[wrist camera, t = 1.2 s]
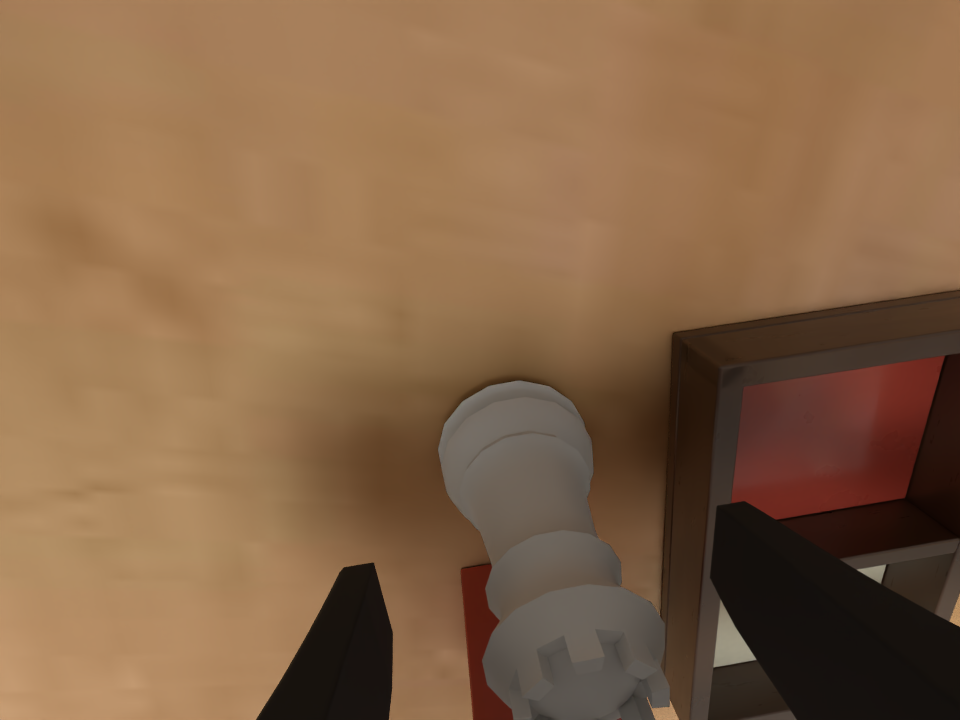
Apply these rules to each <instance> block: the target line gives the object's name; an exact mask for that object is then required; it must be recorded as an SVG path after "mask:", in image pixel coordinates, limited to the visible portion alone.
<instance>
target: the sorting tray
mask: <svg viewBox="0 0 960 720" xmlns="http://www.w3.org/2000/svg"><path fill="white" fill-rule="evenodd" d="M742 501H746V502H747V503H749V504H751V505H752V506H754V507H756V508H758V509H759V510H761V511H762V512H764V513H766V514H767V515H769V516H771V517H772V518H774V519H775V520H777V521H779V522H780V523H782V524H783V525H785V526H787V527H788V528H790V529H791V530H793V531H795V532H796V533H798V534H799V535H801V536H803V537H804V538H806V539H807V540H809V541H811V542H812V543H814V544H815V545H817V546H819V547H820V548H822V549H823V550H825V551H827V552H828V553H830V554H832V555H833V556H835V557H836V558H838V559H840V560H841V561H843V562H845V563H846V564H848V565H850V566H851V567H853V568H855V569H856V570H858V571H860V572H861V573H863V574H865V575H866V576H868V577H870V578H872V579H873V580H875V581H877V582H879V583H880V584H882V585H884V586H885V587H887V588H889V589H891V590H892V591H894V592H896V593H898V594H900V595H901V596H903V597H905V598H907V599H909V600H910V601H912V602H914V603H916V604H918V605H920V606H921V607H923V608H925V609H927V610H929V611H930V612H932V613H934V614H936V615H938V616H940V617H941V618H943V619H945V620H947V621H950V618H951V616H952V613H953V610H954V608H955V605H956V602H957V599H958V597H959V594H960V291H953V292H947V293H940V294H933V295H927V296H920V297H913V298H906V299H900V300H893V301H886V302H879V303H873V304H866V305H859V306H853V307H846V308H839V309H832V310H826V311H819V312H812V313H805V314H799V315H792V316H785V317H778V318H772V319H765V320H758V321H752V322H745V323H738V324H731V325H725V326H718V327H711V328H704V329H698V330H691V331H684V332H678V333H674V334H673V349H672V373H671V397H670V421H669V445H668V469H667V493H666V516H665V540H664V564H663V588H662V612H661V619H662V620H663V622H664V623H665V650H664V654H663V658H662V662H661V665H660V667H661V669H662V671H663V673H664V675H665V678H666V680H667V682H668V684H669V686H670V701H671V703H672V705H673V707H674V709H675V712H676V714H677V716H678V718H679V720H797V719H796V718H795V716H794V715H793V713H792V712H791V710H790V709H789V707H788V706H787V704H786V703H785V701H784V700H783V698H782V697H781V695H780V694H779V693H778V691H777V690H776V688H775V687H774V685H773V684H772V682H771V681H770V679H769V678H768V676H767V675H766V673H765V672H764V670H763V669H762V667H761V666H760V664H759V663H758V661H757V660H756V658H755V657H754V655H753V653H752V652H751V650H750V649H749V647H748V646H747V644H746V643H745V641H744V640H743V638H742V637H741V635H740V634H739V632H738V631H737V629H736V627H735V626H734V624H733V622H732V620H731V618H730V616H729V614H728V613H727V611H726V609H725V607H724V605H723V603H722V601H721V599H720V597H719V595H718V593H717V591H716V589H715V587H714V585H713V583H712V581H711V579H710V570H711V560H712V549H713V539H714V528H715V518H716V508H717V506H718V505H724V504H730V503H736V502H742Z"/></svg>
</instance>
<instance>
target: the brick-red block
mask: <svg viewBox="0 0 960 720" xmlns="http://www.w3.org/2000/svg"><path fill="white" fill-rule="evenodd" d="M491 570H492V564H488V565H482V566H476V567H470V568H464V569H461V582H462V593H463V605H464V617H465V629H466V641H467V653H468V665H469V677H470V689H471V701H472V713H473V720H513V713H512V709H511V708H510V707H509V706H507V705H506V704H505V703H504V702H503V701H502V700H501V699H500V698H499V697H498V695H497V694H496V693H495V692H494V691H493V690H492V689H491V688H490V687H489V686H488V685H487V682H486V677H485V672H484V668H483V663H482V659H483V656H484V653H485V651H486V648H487V645H488V642H489V639H490V637H491V634H492V632H493V631H494V629H495V628H496V626H497V625H498V623H499V622H500V620H499V619H498V618H497V617H496V616H495V614H494V613H493V612H492V611H491V610H490V609H489V606H488V600H487V595H486V590H485V588H486V585H487V582H488V579H489V576H490V573H491ZM647 701H648V700H647ZM649 706H650V705H649ZM651 711H652V710H651ZM617 720H622V719H621V718H619V719H617Z"/></svg>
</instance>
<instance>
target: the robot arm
mask: <svg viewBox="0 0 960 720" xmlns="http://www.w3.org/2000/svg"><path fill="white" fill-rule="evenodd" d="M710 579H711V581H712V583H713V585H714V587H715V589H716V591H717V593H718V595H719V597H720V599H721V601H722V603H723V605H724V607H725V609H726V611H727V613H728V614H729V616H730V618H731V620H732V622H733V624H734V626H735V627H736V629H737V631H738V632H739V634H740V635H741V637H742V638H743V640H744V641H745V643H746V644H747V646H748V647H749V649H750V650H751V652H752V653H753V655H754V657H755V658H756V660H757V661H758V663H759V664H760V666H761V667H762V669H763V670H764V672H765V673H766V675H767V676H768V678H769V679H770V681H771V682H772V684H773V685H774V687H775V688H776V690H777V691H778V693H779V694H780V695H781V697H782V698H783V700H784V701H785V703H786V704H787V706H788V707H789V709H790V710H791V712H792V713H793V715H794V716H795V718H796V719H797V720H960V627H959V626H957V625H955V624H953V623H951V622H949V621H947V620H945V619H943V618H941V617H940V616H938V615H936V614H934V613H932V612H930V611H929V610H927V609H925V608H923V607H921V606H920V605H918V604H916V603H914V602H912V601H910V600H909V599H907V598H905V597H903V596H901V595H900V594H898V593H896V592H894V591H892V590H891V589H889V588H887V587H885V586H884V585H882V584H880V583H879V582H877V581H875V580H873V579H872V578H870V577H868V576H866V575H865V574H863V573H861V572H860V571H858V570H856V569H855V568H853V567H851V566H850V565H848V564H846V563H845V562H843V561H841V560H840V559H838V558H836V557H835V556H833V555H832V554H830V553H828V552H827V551H825V550H823V549H822V548H820V547H819V546H817V545H815V544H814V543H812V542H811V541H809V540H807V539H806V538H804V537H803V536H801V535H799V534H798V533H796V532H795V531H793V530H791V529H790V528H788V527H787V526H785V525H783V524H782V523H780V522H779V521H777V520H775V519H774V518H772V517H771V516H769V515H767V514H766V513H764V512H762V511H761V510H759V509H758V508H756V507H754V506H752V505H751V504H749V503H747V502H746V501H742V502H736V503H730V504H724V505H718V506H717V508H716V518H715V528H714V539H713V549H712V560H711V570H710ZM392 665H393V632H392V628H391V624H390V621H389V617H388V613H387V610H386V606H385V602H384V599H383V595H382V591H381V587H380V584H379V580H378V576H377V573H376V569H375V565H374V563H368V564H362V565H356V566H350V567H344V568H343V569H342V570H341V571H340V573H339V575H338V577H337V579H336V581H335V583H334V585H333V587H332V589H331V591H330V593H329V595H328V597H327V598H326V600H325V602H324V604H323V606H322V608H321V610H320V612H319V614H318V616H317V617H316V619H315V621H314V623H313V625H312V627H311V629H310V630H309V632H308V634H307V636H306V638H305V639H304V641H303V643H302V645H301V646H300V648H299V650H298V652H297V653H296V655H295V657H294V658H293V660H292V662H291V664H290V665H289V667H288V669H287V671H286V672H285V674H284V676H283V677H282V679H281V681H280V682H279V684H278V686H277V687H276V689H275V690H274V692H273V694H272V695H271V697H270V698H269V700H268V701H267V703H266V705H265V706H264V708H263V709H262V711H261V713H260V714H259V716H258V717H257V719H256V720H389V712H390V703H391V693H392Z"/></svg>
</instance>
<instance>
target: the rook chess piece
mask: <svg viewBox="0 0 960 720" xmlns="http://www.w3.org/2000/svg"><path fill="white" fill-rule="evenodd" d="M438 453H439V457H440V462H441V469H442V473H443V478H444V483H445V487H446V492H447V494H448V495H449V497H450V499H451V500H452V502H453V503H454V504H455V505H456V507H457V508H458V509H459V510H460V512H461V513H462V514H463V515H464V517H465V518H466V519H468V520H470V521H471V523H472V524H473V525H474V526H475V528H476V529H477V530H479V531H480V533H481V536H482V538H483V541H484V544H485V547H486V550H487V553H488V556H489V559H490V561H491V564H492V570H491V573H490V576H489V579H488V582H487V585H486V588H485V590H486V595H487V600H488V606H489V609H490V610H491V611H492V612H493V613H494V614H495V616H496V617H497V618H498V619H499V620H500V622H499V623H498V625H497V626H496V628H495V629H494V631H493V632H492V634H491V637H490V639H489V642H488V645H487V648H486V651H485V653H484V656H483V659H482V663H483V668H484V672H485V677H486V682H487V685H488V686H489V687H490V688H491V689H492V690H493V691H494V692H495V693H496V694H497V695H498V697H499V698H500V699H501V700H502V701H503V702H504V703H505V704H506V705H507V706H509V707H510V708H511V709H512V713H513V720H617V719H619V718H621V719H622V720H655V718H654V715H653V713H652V711H651V708H650V706H649V703H648V701H647V697H648V699H649V702H650V704H651V706H652V708H659V707H669V706H670V686H669V684H668V682H667V680H666V678H665V675H664V673H663V671H662V669H661V667H660V665H661V662H662V658H663V654H664V650H665V623H664V622H663V620H662V619H661V617H660V615H659V614H658V612H657V611H656V609H655V608H654V606H653V605H652V603H651V602H649V601H647V600H646V599H644V598H642V597H640V596H638V595H636V594H634V593H632V592H631V591H629V590H627V589H625V588H623V587H621V586H620V585H621V583H622V579H621V562H620V560H619V559H618V557H617V556H616V554H615V553H614V551H613V549H612V548H611V546H610V545H609V544H607V543H605V542H603V541H602V540H600V539H599V538H598V536H597V533H596V531H595V528H594V524H593V520H592V516H591V512H590V509H589V505H588V501H587V497H588V494H589V492H590V481H591V479H592V476H593V473H594V469H593V453H592V440H591V438H590V436H589V435H588V433H587V431H586V430H585V423H584V421H583V420H582V418H581V416H580V415H579V413H578V411H577V410H576V408H575V406H574V404H573V403H572V401H571V400H569V399H568V398H566V397H565V396H563V395H562V394H560V393H559V392H557V391H556V390H554V389H553V388H551V387H550V386H546V385H541V384H536V383H531V382H525V381H520V380H519V381H513V382H508V383H502V384H497V385H491V386H488V387H486V388H484V389H483V390H481V391H479V392H477V393H476V394H474V395H472V396H471V397H469V398H467V399H466V400H464V401H462V402H461V404H460V405H459V406H458V407H457V409H456V410H455V411H454V413H453V414H452V415H451V416H450V418H449V419H448V420H447V421H446V423H445V424H444V428H443V432H442V435H441V439H440V443H439V447H438Z"/></svg>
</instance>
